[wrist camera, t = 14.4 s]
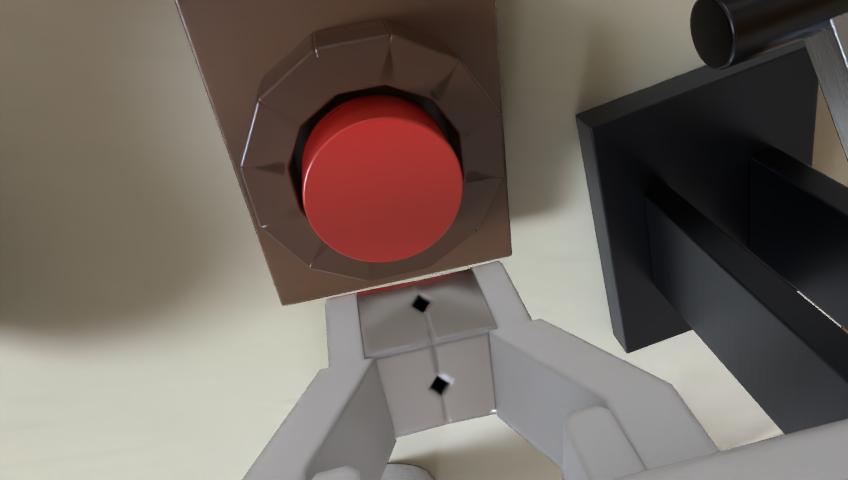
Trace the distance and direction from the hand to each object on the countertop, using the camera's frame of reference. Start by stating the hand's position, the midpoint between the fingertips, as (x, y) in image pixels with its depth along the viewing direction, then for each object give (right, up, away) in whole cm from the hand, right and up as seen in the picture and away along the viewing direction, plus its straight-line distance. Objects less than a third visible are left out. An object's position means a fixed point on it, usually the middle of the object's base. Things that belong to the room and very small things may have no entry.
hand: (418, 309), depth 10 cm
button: (-1, +3, +6) cm, 7 cm away
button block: (-2, +5, +9) cm, 10 cm away
